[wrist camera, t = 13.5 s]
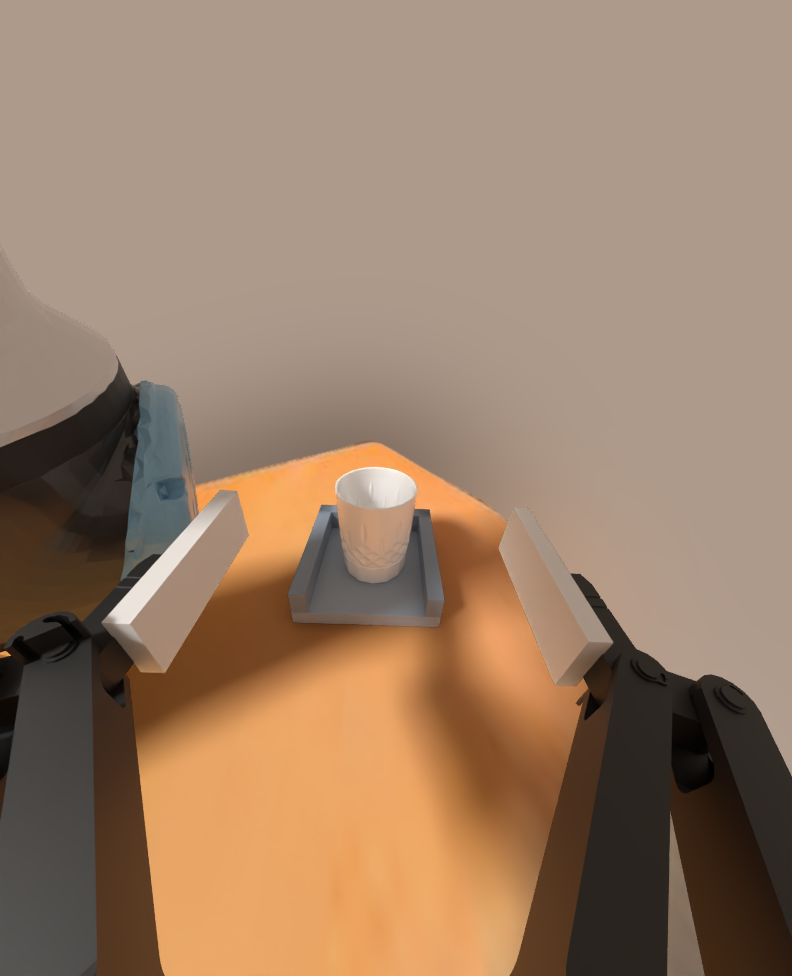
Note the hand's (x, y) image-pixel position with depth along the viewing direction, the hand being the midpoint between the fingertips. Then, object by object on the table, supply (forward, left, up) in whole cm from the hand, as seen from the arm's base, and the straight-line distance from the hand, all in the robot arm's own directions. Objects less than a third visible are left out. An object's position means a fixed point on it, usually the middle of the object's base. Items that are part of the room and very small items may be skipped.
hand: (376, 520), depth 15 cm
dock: (-3, +13, -17) cm, 21 cm away
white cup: (-3, +13, -16) cm, 20 cm away
